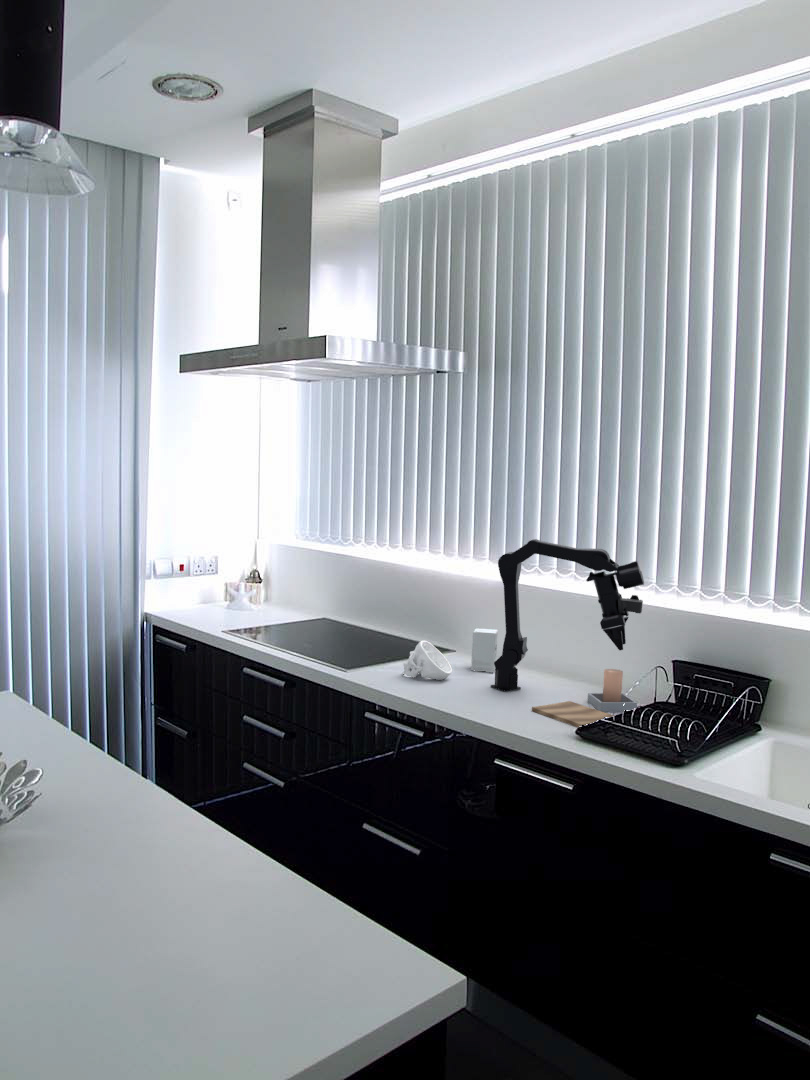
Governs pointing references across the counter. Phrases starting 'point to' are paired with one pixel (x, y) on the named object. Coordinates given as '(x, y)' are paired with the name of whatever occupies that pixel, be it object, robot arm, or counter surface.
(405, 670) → the skull bowl
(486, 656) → the supplement box
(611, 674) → the pink tall rounded piece
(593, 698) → the grey box
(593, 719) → the walnut board
